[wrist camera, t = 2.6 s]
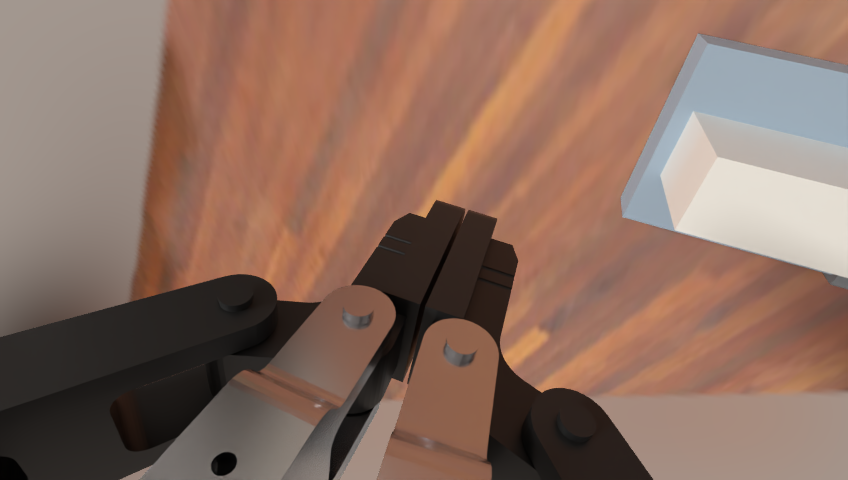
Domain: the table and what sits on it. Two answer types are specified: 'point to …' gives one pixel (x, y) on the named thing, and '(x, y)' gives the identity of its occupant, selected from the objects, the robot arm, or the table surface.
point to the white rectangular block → (760, 191)
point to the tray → (837, 280)
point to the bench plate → (739, 110)
